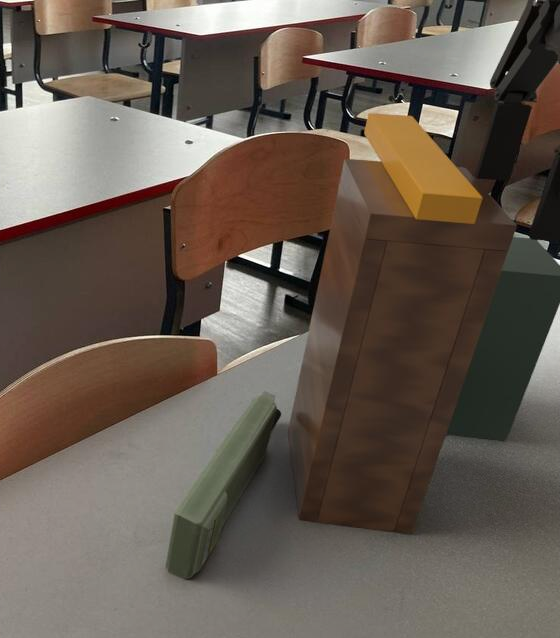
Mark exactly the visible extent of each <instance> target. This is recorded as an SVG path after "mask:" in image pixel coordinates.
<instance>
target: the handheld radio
mask: <svg viewBox="0 0 560 638" xmlns="http://www.w3.org/2000/svg"><path fill="white" fill-rule="evenodd" d="M275 399H276V395H275V394H272V393H270V392H268V391H263V392H262V393H261V394H260V395H258V396H256V397H254V398H253V399H252V401H251V402H250V403H249V405H248V406H247V407H246V409H245V410H244V412H243V413H242V414H241V416H240V417H239V418H238V420H236V422H235V423H234V425H233V427H232V428H231V430H230V431H229V433H228V434H227V435H226V437H225V438H224V439H223V441H222V443H221V444H220V445H219V447H218V448H217V449H216V451H215V453H214V454H213V456H212V457H211V459H210V460H209V462H208V464H206V466H205V468H204V469H203V470H202V472H201V473H200V475H199V476H198V478H197V479H196V480H195V482H194V484H193V485H192V487H191V488H190V490H189V491H188V492H187V494H186V496H185V497H183V500H182V501H181V503H180V504H179V505H178V507H177V508H176V510H175V512H174V515H173V522H172V526H171V532H170V539H169V544H168V551H167V556H166V562H165V567H166V570H167V572H168V573H169V574H172V575H174V576H177V577H179V578H181V579H183V580H188V579H190V578H192V577H193V576H194V574H197V573H198V572H199V571H200V570H201V569H202V568H203V566H204V565H205V563H206V561H207V560H208V557H209V556H210V555H211V552H212V551H213V549H214V548H215V546H216V544H217V542H218V541H219V538H220V535H221V530H222V528H223V526H224V525H225V524H226V522H227V519H228V518H229V516H230V515H231V513H232V511H233V509H234V508H235V506H236V504H237V503H238V501H239V500H240V498H241V496H242V495H243V493H244V491H245V490H246V489H247V486H248V484H249V483H250V481H251V480H252V478H253V477H254V475H255V473H256V471H257V470H258V468H259V466H260V464H261V463H262V462H263V459H264V458H265V457H266V454H267V452H268V447H269V443H270V438H271V436H272V435H271V434H272V431H273V430H274V428H275V426H276V425H277V423H278V422H279V420H280V418H282V412H281V410H279V409H278V407H277V404H276V403H277V402H275Z"/></svg>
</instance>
